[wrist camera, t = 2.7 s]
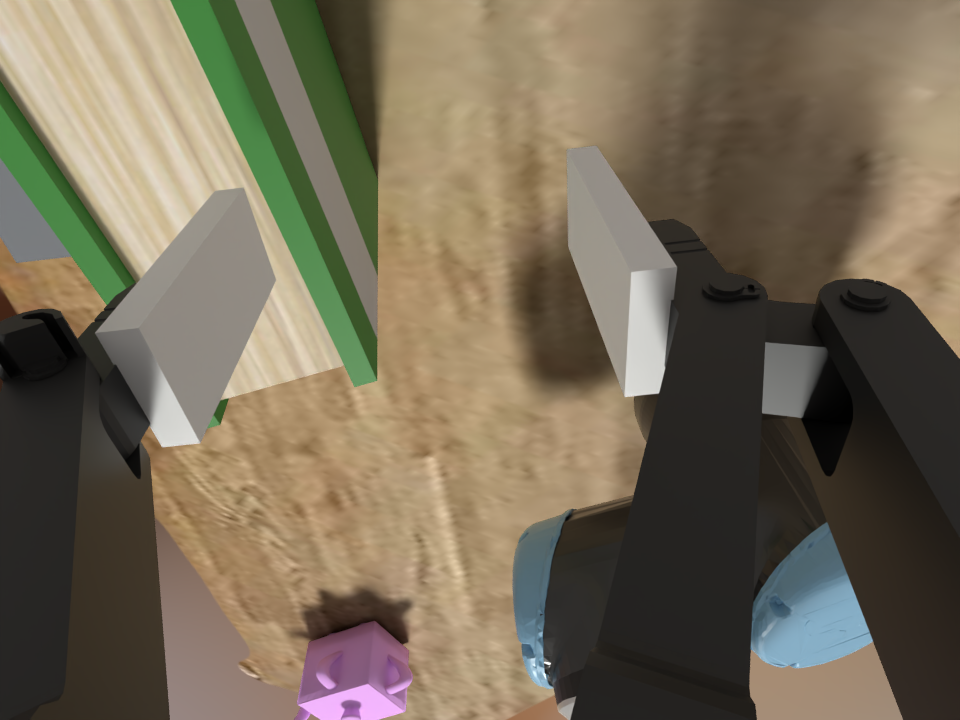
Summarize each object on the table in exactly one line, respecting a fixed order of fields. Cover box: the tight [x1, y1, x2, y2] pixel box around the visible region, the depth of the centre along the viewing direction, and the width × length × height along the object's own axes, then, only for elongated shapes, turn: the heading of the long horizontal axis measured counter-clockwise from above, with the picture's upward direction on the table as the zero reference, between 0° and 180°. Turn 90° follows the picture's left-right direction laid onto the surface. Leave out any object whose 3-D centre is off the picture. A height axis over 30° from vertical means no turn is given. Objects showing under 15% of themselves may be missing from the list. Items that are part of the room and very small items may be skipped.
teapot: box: [294, 621, 413, 720], centre depth 75 cm, size 18×14×10 cm
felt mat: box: [0, 158, 71, 263], centre depth 38 cm, size 19×22×1 cm
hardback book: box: [0, 0, 378, 428], centre depth 28 cm, size 18×7×24 cm, turn 14°
